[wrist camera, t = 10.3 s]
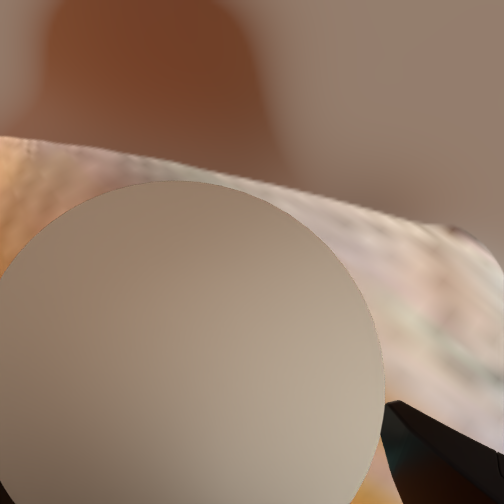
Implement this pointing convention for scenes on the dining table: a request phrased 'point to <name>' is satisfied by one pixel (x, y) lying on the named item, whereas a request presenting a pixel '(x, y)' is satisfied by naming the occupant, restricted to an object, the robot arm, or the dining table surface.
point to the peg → (184, 356)
